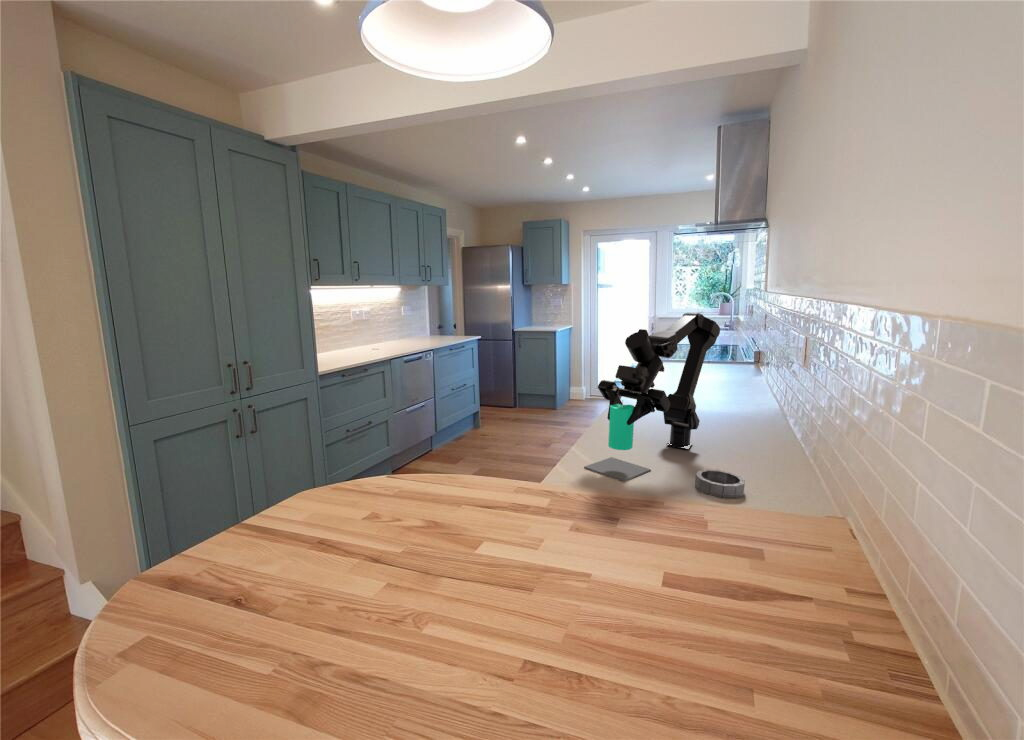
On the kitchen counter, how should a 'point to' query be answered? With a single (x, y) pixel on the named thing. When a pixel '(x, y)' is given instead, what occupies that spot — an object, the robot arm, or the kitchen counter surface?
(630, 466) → the mat
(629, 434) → the candle
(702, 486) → the ring holder
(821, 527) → the kitchen counter surface
